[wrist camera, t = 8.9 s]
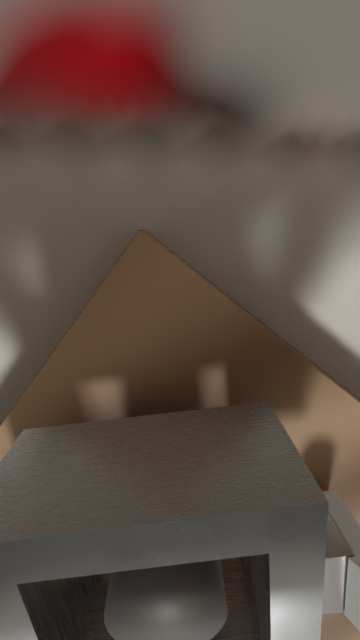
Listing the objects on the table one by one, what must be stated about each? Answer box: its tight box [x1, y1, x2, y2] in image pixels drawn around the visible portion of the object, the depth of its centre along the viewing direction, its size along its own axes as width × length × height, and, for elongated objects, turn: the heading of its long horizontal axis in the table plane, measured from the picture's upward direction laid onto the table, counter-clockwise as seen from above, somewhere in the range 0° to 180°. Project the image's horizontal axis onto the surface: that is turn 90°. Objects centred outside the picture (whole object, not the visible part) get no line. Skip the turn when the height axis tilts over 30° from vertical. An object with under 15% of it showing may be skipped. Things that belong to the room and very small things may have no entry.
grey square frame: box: [0, 401, 329, 640], centre depth 8 cm, size 10×6×3 cm, turn 6°
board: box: [0, 230, 360, 640], centre depth 10 cm, size 22×13×6 cm, turn 52°
